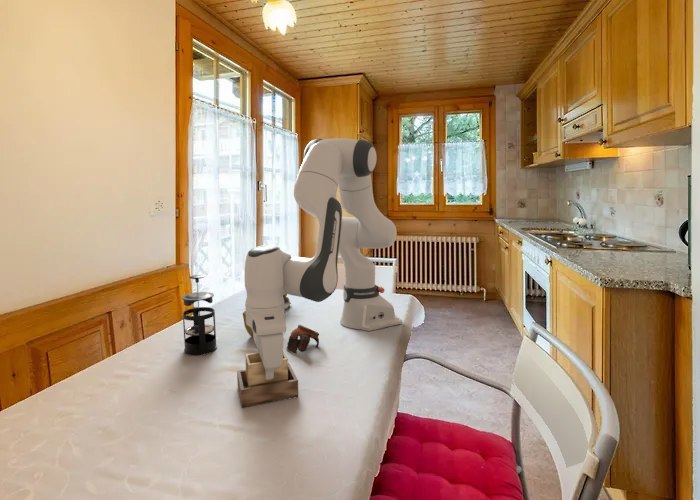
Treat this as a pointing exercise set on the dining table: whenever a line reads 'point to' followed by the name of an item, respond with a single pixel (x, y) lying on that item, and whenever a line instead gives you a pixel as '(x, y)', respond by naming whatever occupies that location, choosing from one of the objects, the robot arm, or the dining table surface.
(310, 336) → the pottery mug
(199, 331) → the french press
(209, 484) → the dining table surface
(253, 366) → the small crate
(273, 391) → the big crate
